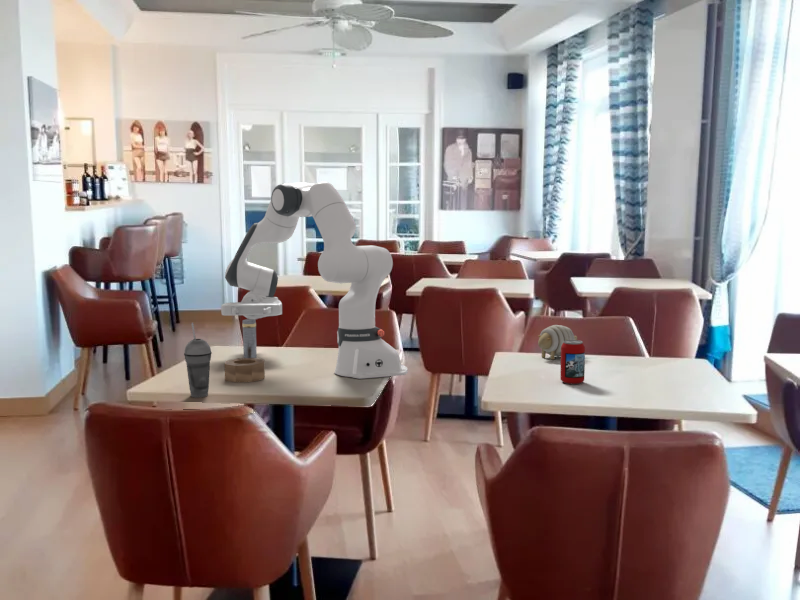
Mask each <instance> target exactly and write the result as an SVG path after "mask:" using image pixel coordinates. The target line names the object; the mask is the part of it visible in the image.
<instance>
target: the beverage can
mask: <svg viewBox="0 0 800 600" xmlns="http://www.w3.org/2000/svg"><path fill="white" fill-rule="evenodd" d="M585 364H586V346H585V345H584V342H583V341H582V340H579V339H577V340H565V341H564V342H563V344H562V346H561V356H560V381H562V382H563V383H564V384H566V385H580V384H582V383H583V382H584V381H585V373H586V372H585V370H586V367H585V366H586V365H585Z"/></svg>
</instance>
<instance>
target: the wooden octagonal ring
mask: <svg viewBox="0 0 800 600" xmlns="http://www.w3.org/2000/svg"><path fill="white" fill-rule="evenodd" d="M265 365H266V364H265V359H264V358H263V359H262V358H259V357H257V358H244V357H241V358H240V357H237V358H234V359H228V360H225V362H224V381H225V382H230V383H231V382H232V383H254V382H258V381H262V380H265V377H266V375H265V374H266V371H265V370H266V369H265V367H266V366H265Z"/></svg>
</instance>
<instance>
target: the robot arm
mask: <svg viewBox="0 0 800 600" xmlns="http://www.w3.org/2000/svg"><path fill="white" fill-rule="evenodd" d="M300 217H303V218H306V217H307V218H309V217H312V218H313V220H314V222H315V224H316V227H317V229H318V231H319V233H320V236H321V237H322V241H323V251H322V252H321V254H320V255H319V258H318V261H317V267H318V268H317V270H318V273H319V275H320V276H321V278H322V279H323V280H324V281H325V282H327V283H328V282H329V283H335V284H341V285H342V284H349V283H350V287H349V289H348V292H347V293H346V294H345V295H344V296H342V298H341V299H340V300H339V303H338V327H337V331H336V334H337V337H336V339H337V345H338V352H337V360H336V365H335V369H334V374H335V375H338V376H342V377H346V378H347V377H349V378H354V379H360V380H361V379H371V378H372V379H373V378H384V377H397V376H405V375H407V374H408V370H409V369H408V367H407V366H406V365H404V364H401V363H402V362H401V358H400V354H399V353H398V350H397V349H396V348H394V347H393V346H391V345H390V344H389V343H387V342H386V341H385V340H384V339H382V337H384V336H385V331H384V330H383V329H381V328H379V327H377V326H376V302H377V298H378V294H379V291H380V288H381V286H382V283H384V280H385V279H387V277H388V276H389V275H390V274H391V272H392V269H393V266H394V262H393V260H394V259H393V257H392V255H391V253H390V250H388V249H387V248H386V247H382V246H377V245H370V244H369V245H355V244H354V243H353V242H352V238H353V237H354V235H355V234H356V231H357V230H356V229H357V223H356V222H355V220H354V217H353V216H352V214H351V212H350V210H349V208H348V205H347V204H346V203H345V200H344V199H343V197H342V196H341V194H340V193H339V191H338V190H337V188H335V187H334V185H332V184H331V183H330V182H328V181H319V182H316V183H313V182H312V183H311V182H302V181H301V182H291V183H289V182H284V183H280V184H278V185H276V186H275V187H274V188H273V190H272V193H271V200H270V201H269V204H268V206H267V209H266V211H265V214H264V217H263V218H262V219H261V220H260V221H259V222H254V223H253V224H252V225H251V226H250V227H249V229H248V231H247V232H246V235H245V236H244V238H243V240H242V242H241V243H240V245H239V247H238V249H237V250H236V252H235V255H234V257H233V259H232V260H231V261H230V262H229V263H228V265H227V267H226V269H225V272H224V273H225V274H224V278H225V281H226V282H227V284H228V285H229V286H231V287H235V288H240V289H244V290H246V291H248V292H247V293H246V294H245V295H243V298H242V300H241V301H240V302H239V301H238V302H234V301H233V302H225V303H223V304H221V307H220V309H221V316H225V317H226V316H227V317H228V316H243V317H245V318H246V319H255V320H258V319H262V318H266V317H275V316H280V315H283V303H282V301H281V300H280V299H279V297H277V296H274V295H275V294H276V291H277V288H278V284H279V283H278V281H279V277H278V274H277V272H276V270H275V269H272V268H269V267H267V266H261V265H259V264H256V263H253V262H249V261H248V260H247V258H248V256H249V254H250V253H251V252H252V249H253V248H254V247H255V246H258V245H261V244H279V243H281V244H282V243H284V242H286V241H288V240H290V239H291V238H292V237H293V234H294V233H295V231H296V227H297V225H298V222H299V218H300Z"/></svg>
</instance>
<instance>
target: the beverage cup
mask: <svg viewBox="0 0 800 600" xmlns="http://www.w3.org/2000/svg"><path fill="white" fill-rule="evenodd" d="M190 324H191V329H192V330H191V331H192V335H193V339H191V340H190V341H189V342H188V343H187V344H186V346H185V347H184V352H183V356H184V360H185V364H186V371H187V378H188V386H189V392H190V396H191V397H192V398H205V397H207V396H209V389H210V388H209V385H210V367H211V366H210V365H211V360H212V359H211V358H212V354H213V353H212V349H211V346H210V344H209V343H208V342H207V341H206V340H204V339H202V338H196V332H195V326H194V322H191V323H190Z"/></svg>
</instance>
